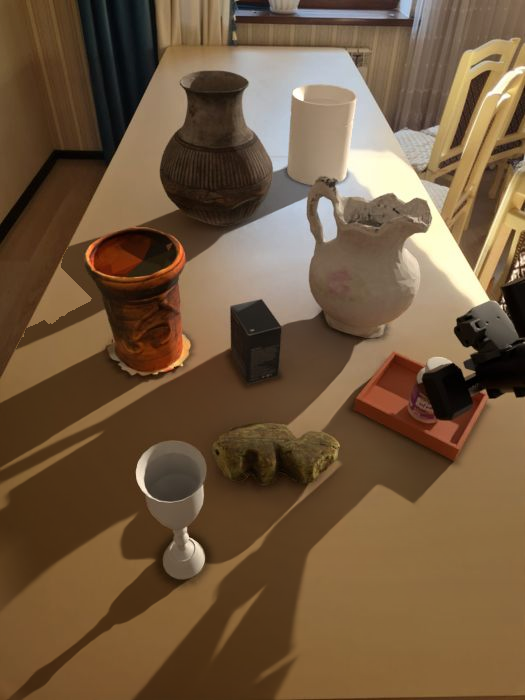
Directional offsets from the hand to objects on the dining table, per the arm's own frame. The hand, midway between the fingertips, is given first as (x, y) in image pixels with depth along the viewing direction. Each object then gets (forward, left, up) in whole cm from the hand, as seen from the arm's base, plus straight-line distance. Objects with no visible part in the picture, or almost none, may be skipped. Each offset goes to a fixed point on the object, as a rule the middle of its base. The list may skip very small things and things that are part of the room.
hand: (441, 376), depth 76 cm
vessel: (+44, +15, -9) cm, 47 cm away
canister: (+59, -64, -9) cm, 88 cm away
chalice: (+15, +39, -9) cm, 42 cm away
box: (+28, +7, -9) cm, 30 cm away
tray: (+2, -1, -9) cm, 9 cm away
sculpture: (+14, +21, -9) cm, 26 cm away
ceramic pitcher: (+22, -15, -9) cm, 28 cm away
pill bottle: (+1, 0, -8) cm, 8 cm away
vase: (+64, -28, -9) cm, 70 cm away
